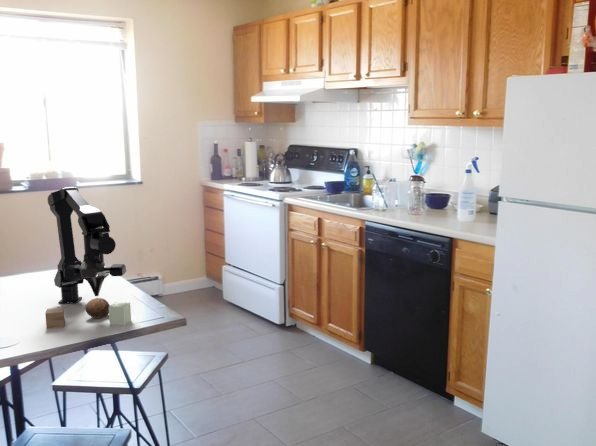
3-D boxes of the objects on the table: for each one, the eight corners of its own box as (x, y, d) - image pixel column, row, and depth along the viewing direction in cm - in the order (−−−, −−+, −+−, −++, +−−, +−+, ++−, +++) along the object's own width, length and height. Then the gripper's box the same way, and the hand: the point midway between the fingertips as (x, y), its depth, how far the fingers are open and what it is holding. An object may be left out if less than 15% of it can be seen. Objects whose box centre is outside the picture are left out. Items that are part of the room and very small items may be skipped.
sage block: (116, 319, 190) (115, 302, 189) (131, 320, 189) (130, 302, 188) (109, 325, 185) (108, 306, 184) (124, 325, 184) (123, 307, 183)
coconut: (84, 303, 197) (90, 291, 194) (107, 309, 200) (113, 297, 197) (80, 321, 190) (86, 308, 187) (104, 327, 193) (110, 315, 190)
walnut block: (48, 323, 187) (46, 308, 186) (64, 322, 188) (63, 307, 187) (46, 328, 182) (45, 313, 181) (63, 327, 184) (62, 311, 183)
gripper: (55, 255, 181) (59, 303, 184) (116, 254, 182) (119, 302, 185) (67, 248, 192) (71, 293, 195) (125, 247, 193) (127, 292, 196)
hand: (96, 295), depth 192 cm, fingers closed
